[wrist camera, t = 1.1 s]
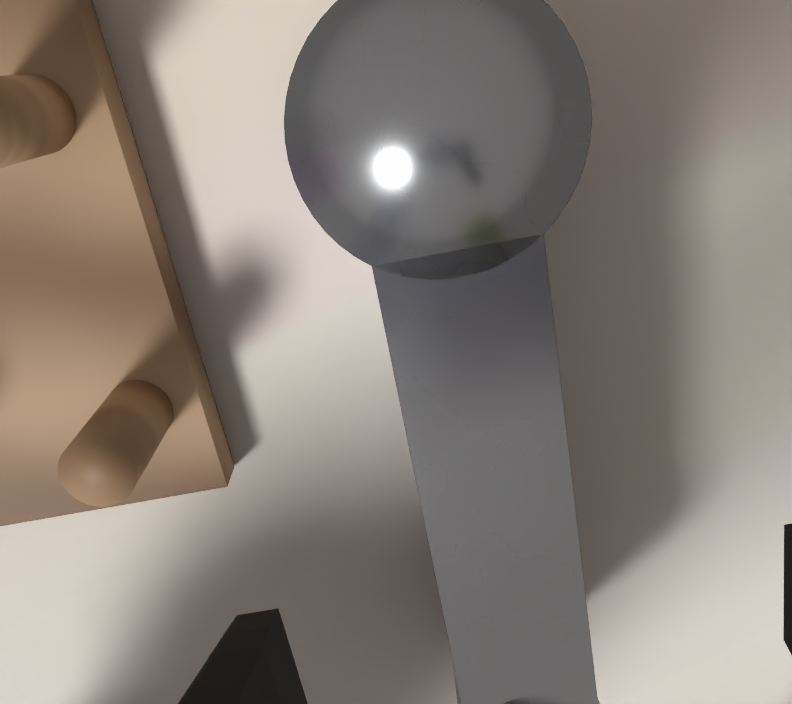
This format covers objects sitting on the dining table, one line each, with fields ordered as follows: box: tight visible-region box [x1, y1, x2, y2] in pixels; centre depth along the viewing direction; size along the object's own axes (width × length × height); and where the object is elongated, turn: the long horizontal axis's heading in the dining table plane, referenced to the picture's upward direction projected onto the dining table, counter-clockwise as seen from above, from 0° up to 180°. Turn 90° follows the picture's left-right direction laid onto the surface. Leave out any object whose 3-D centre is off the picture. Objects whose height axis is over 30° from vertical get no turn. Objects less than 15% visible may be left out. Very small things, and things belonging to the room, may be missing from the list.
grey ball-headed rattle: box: [284, 0, 600, 704], centre depth 17 cm, size 18×5×5 cm, turn 11°
